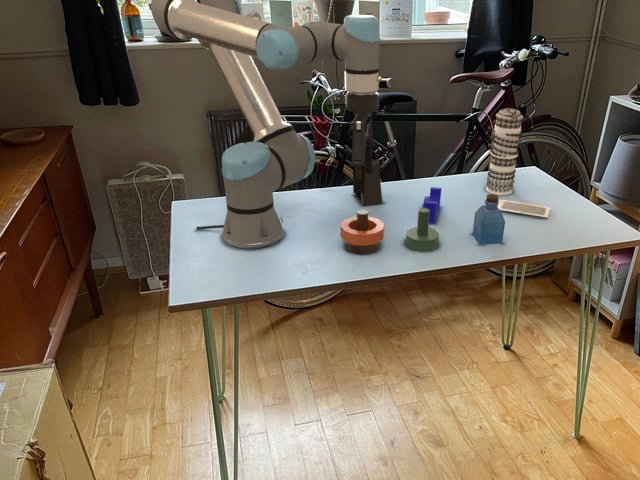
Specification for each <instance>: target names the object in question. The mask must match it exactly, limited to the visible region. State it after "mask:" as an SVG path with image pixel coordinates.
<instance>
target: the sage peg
mask: <svg viewBox="0 0 640 480" xmlns="http://www.w3.org/2000/svg"><path fill="white" fill-rule="evenodd" d="M429 213H430V210H429V209H427V208H423V207H421V208H418V213H417V226H413V227H410V228H408V229H407V230H406V232H405V246H406V247H407V248H409V249H411V250H412V251H416V252H430V251H434V250H436V249H437V248H438V246H439V240H440V239H439V237H440V234H439V231H438V230H436V229H435V228H432V227H429V224H430V223H429Z"/></svg>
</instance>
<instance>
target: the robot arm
mask: <svg viewBox="0 0 640 480" xmlns="http://www.w3.org/2000/svg"><path fill="white" fill-rule="evenodd" d="M150 11H151V16H152V18H153V19H152V20H153V21H154V23H155V24H156V26H157V27H158V28H159V29H160V30H161V31H162V32H163V33H165V34H167V36H171V37H173V38H177V39H181V40H185V41H189V40H192V39H196V40H198V43H199V44H200V46H201V47H202V48H204V49H207V50H208V51H210V52H211V55H212V56H213V58H214V61H215V62H216V64H217V66H218V69H219V71H220V73H221V74H222V76H223V78H224V80H225V82H226V83H227V85H228V87H229V90H230V91H231V93H232V95H233V98H234V99H235V102H236V104H237V105H238V107H239V109H240V111H241V113H242V115H243V117H244V118H245V121H246V122H247V124H248V126H249V129H250V131H251V133H252V134H253V140H252V141H247V142H240V143H237V144H234V145H232V146H230V147H228V148H227V149H226V150H225V151H223V153H222V156H221V175H222V179H223V186H224V187H223V188H224V193H225V202H226V214H225V219H224V224H218V225H217V224H216V225H215V224H214V225H205V226H203V225H202V226H196V230H209V229H211V230H212V229H222V237H223V241H224V242H225V244H227V245H229V246H231V247H234V248H238V249H247V250H248V249H249V250H250V249H251V250H252V249H261V248H266V247H269V246H272V245H275V244H276V243H278V242H279V241H280V240H282V238H283V236H284V230H283V224H284V222H283V221H284V220H283V217H282V216H280V217H279V216H278V214H277V211H276V208H275V204H274V192H275V191H278V190H280V189H283V188H285V187H288V186H290V185H293V184H296V183H300V182H301V181H302V180H303V179H306V178H307V177H309V176H310V175H311V174H312V173H313V170H314V168H315V163H316V153H315V152H316V151H315V148H314V145H313V144H312V142H311V140H310V139H309V138H308V137H306V136H305V135H303V134H300V133H297V132H296V130H295V128H294V126H293V124H290V123H287V122H285V121H284V119H283V117H282V115H281V113H280V111H279V109H278V107H277V105H276V103H275V101H274V99H273V97H272V96H271V93H270V91H269V90H268V87H267V86H266V83H265V81H264V79H263V78H262V76H261V74H260V72H259V70H258V67H257V66H256V63H255V61H254V59H253V58H255V59H258V60H259V61H260V62H261V64H263V65H264V67H265V68H267V69H269V70H273V71H274V70H288V69H289V68H293V67H296V66H302V65H306V64H311V63H317V62H321V61H327V60H329V61H337V62H344V90H345V91H346V93H345V108H346V110H347V111H348V112H350V113H354V114H355V116H354V118H353V119H352V147H351V150H352V151H351V162H348V163H349V167H352V192H353V194H354V193H365V173H372V160H373V147H375V145H376V141H373V140H374V137H373V117H372V113H375V112H377V111H378V110H379V109H380V94H379V92H378V91H379V90H380V82H382V80H383V77H382V76H380V44H381V43H380V42H381V36H380V22H379V19H378V17H376V16H374V15H369V14H349V15H346V16H345V17H344V19H343V23H342V24H341V23H333V22H325V21H321V20H317V21H306V22H304V23H303V24H302V25H298V26H289V27H288V26H283V25H278V24H274V23H271V22H268V21H265V20H260V19H257V18H254V17H250V16H246V15H244V14H243V13H242V11H243V5H242V2H241V0H151V3H150ZM252 57H253V58H252Z"/></svg>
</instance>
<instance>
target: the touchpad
mask: <svg viewBox="0 0 640 480" xmlns="http://www.w3.org/2000/svg"><path fill="white" fill-rule="evenodd" d="M498 201H499V204H498V206H497V207H498V208H499V210H500V211H505V212H512V213H517V214H523V215H530V216H536V217H542V218H549V215H550V211H551V208H552V207H550V206H545V205H538V204H533V203H527V202H519V201H514V200H507V199H506V200H505V199H501V198H500V199H499V200H498Z"/></svg>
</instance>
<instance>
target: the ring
mask: <svg viewBox="0 0 640 480" xmlns="http://www.w3.org/2000/svg"><path fill="white" fill-rule="evenodd" d="M385 226H386V225H385V223H384V222H383V221H382V220H381V219H379V218H376V217H373V216H368V230H369V231H356V230H357V216H351V217H347V218H346V219H344V220H342V222H341V224H340V227H339V228H340V229H339V230H340V231H339V232H340V233H339V234H340V235H339V236H340V238H341V239H342V241H343V242H344V243H346V242H347V243H350V244H352V245H361V246H366V245H372V244H377V243H378V242H379V243H381V242H382V241H383V240H384V239H385V228H386V227H385Z"/></svg>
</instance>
